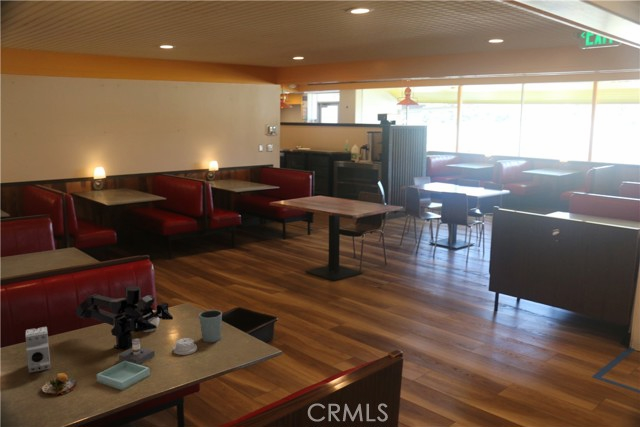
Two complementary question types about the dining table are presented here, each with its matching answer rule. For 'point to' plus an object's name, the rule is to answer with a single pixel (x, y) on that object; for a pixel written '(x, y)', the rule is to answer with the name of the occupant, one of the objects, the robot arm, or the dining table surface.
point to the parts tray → (123, 375)
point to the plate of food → (59, 385)
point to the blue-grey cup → (211, 325)
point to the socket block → (142, 357)
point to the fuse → (136, 346)
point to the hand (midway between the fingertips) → (164, 322)
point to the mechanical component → (185, 346)
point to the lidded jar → (154, 321)
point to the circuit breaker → (37, 349)
